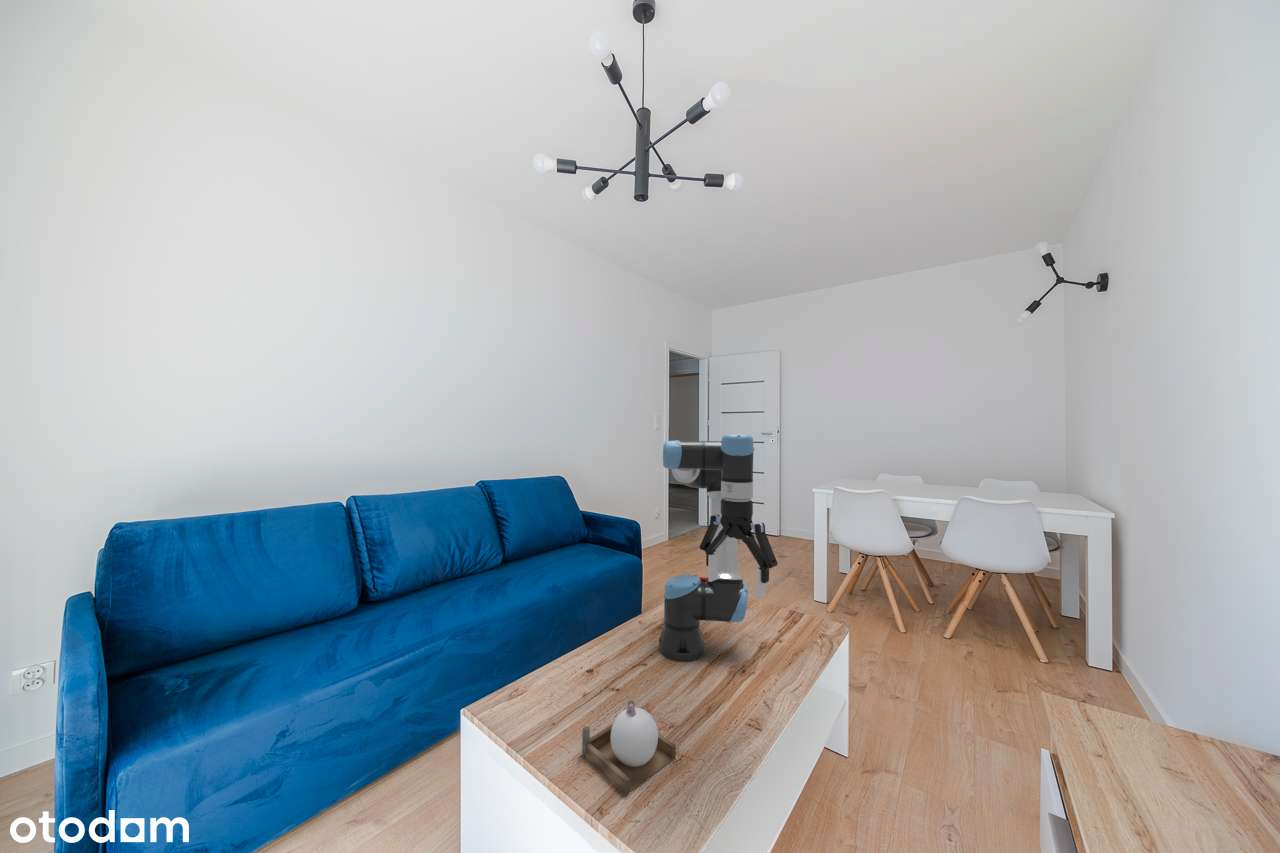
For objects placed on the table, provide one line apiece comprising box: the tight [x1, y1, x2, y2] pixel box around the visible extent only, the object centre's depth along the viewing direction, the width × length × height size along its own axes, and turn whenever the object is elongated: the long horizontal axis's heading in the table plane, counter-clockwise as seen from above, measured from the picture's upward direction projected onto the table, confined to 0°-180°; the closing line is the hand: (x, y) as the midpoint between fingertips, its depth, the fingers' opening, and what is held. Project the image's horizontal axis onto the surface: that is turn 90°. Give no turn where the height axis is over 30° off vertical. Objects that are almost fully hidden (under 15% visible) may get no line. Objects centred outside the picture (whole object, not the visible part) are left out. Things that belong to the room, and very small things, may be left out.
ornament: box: [610, 703, 659, 767], centre depth 94 cm, size 10×10×12 cm
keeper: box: [581, 700, 677, 796], centre depth 95 cm, size 15×15×6 cm
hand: (735, 587), depth 103 cm, fingers open, 13 cm apart
